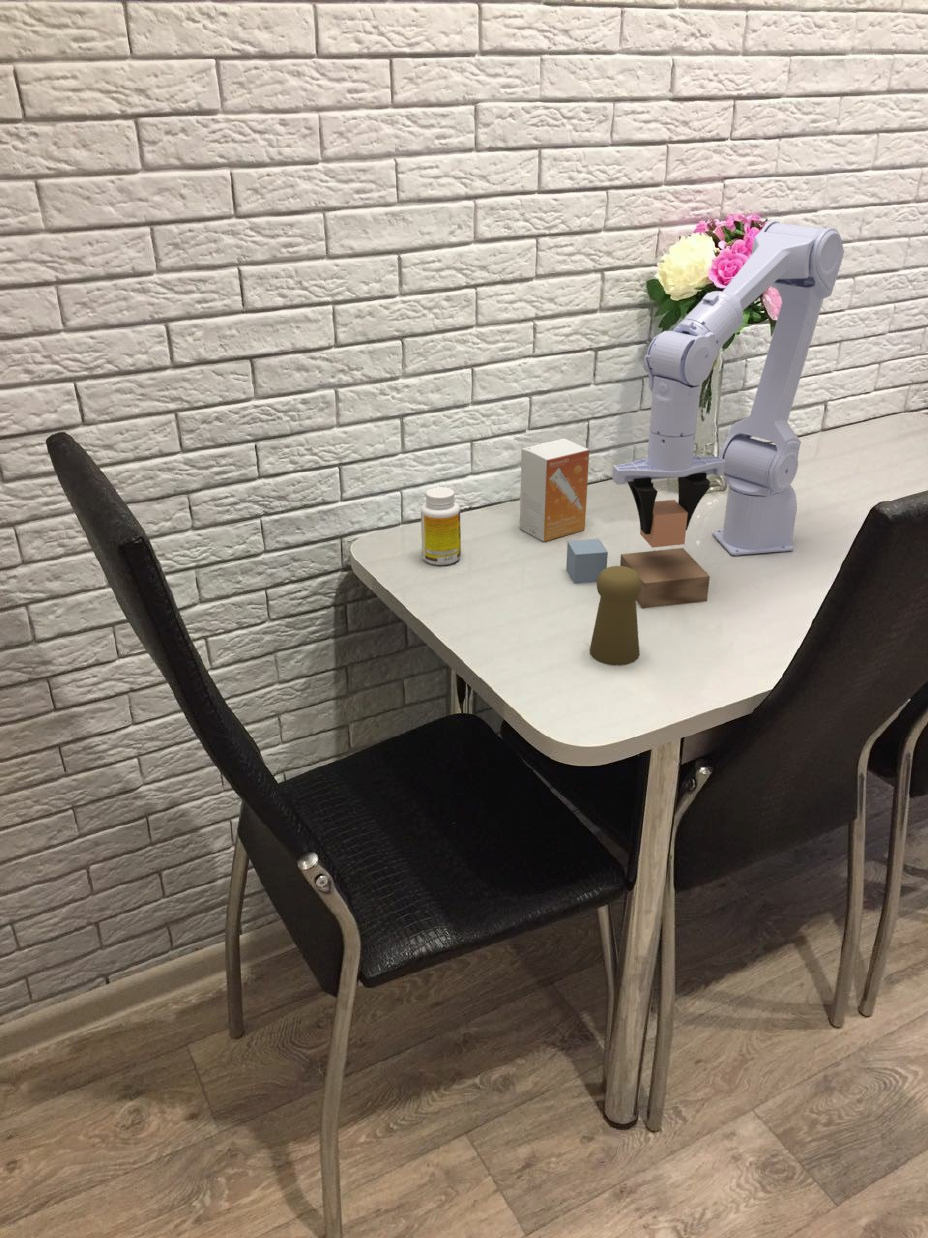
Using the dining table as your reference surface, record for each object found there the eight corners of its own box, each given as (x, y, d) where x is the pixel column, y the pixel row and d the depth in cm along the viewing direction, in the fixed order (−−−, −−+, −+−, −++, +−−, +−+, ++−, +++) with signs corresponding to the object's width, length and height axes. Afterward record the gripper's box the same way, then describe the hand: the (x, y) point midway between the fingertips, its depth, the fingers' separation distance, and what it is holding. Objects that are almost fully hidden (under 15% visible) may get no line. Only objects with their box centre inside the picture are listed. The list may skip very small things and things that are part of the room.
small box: (544, 543, 153) (546, 459, 147) (518, 529, 158) (519, 447, 151) (586, 530, 157) (590, 448, 151) (560, 516, 162) (563, 436, 155)
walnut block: (680, 573, 144) (683, 547, 142) (706, 603, 137) (709, 576, 135) (619, 580, 143) (620, 554, 141) (642, 610, 135) (644, 583, 133)
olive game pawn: (585, 641, 128) (589, 560, 122) (633, 638, 128) (639, 558, 123) (594, 666, 122) (599, 583, 117) (644, 664, 123) (651, 581, 117)
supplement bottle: (466, 563, 147) (465, 496, 142) (429, 569, 146) (427, 502, 141) (453, 547, 152) (452, 482, 147) (417, 553, 150) (415, 487, 145)
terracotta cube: (671, 530, 139) (674, 499, 137) (684, 544, 136) (687, 512, 133) (639, 533, 139) (642, 502, 137) (652, 547, 135) (654, 515, 133)
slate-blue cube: (597, 567, 146) (599, 538, 144) (605, 581, 142) (607, 552, 140) (566, 570, 145) (567, 540, 143) (574, 584, 141) (575, 554, 139)
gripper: (713, 416, 134) (703, 512, 141) (607, 424, 132) (601, 522, 138) (737, 433, 128) (724, 533, 135) (625, 442, 126) (619, 543, 132)
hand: (663, 529), depth 136 cm, fingers closed on terracotta cube, 4 cm apart
